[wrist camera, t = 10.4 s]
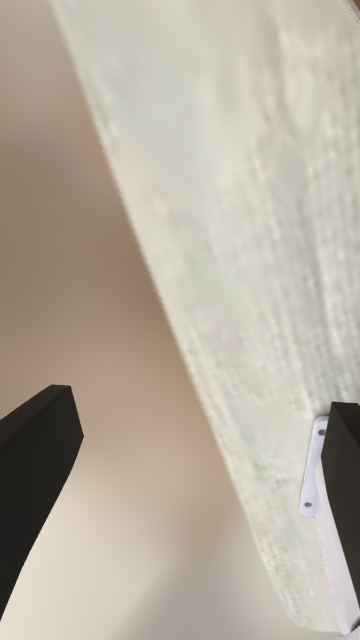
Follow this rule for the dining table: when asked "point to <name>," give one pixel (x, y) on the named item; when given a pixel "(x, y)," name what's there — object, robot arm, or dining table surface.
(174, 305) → the dining table surface
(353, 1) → the food container
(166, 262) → the dining table surface
